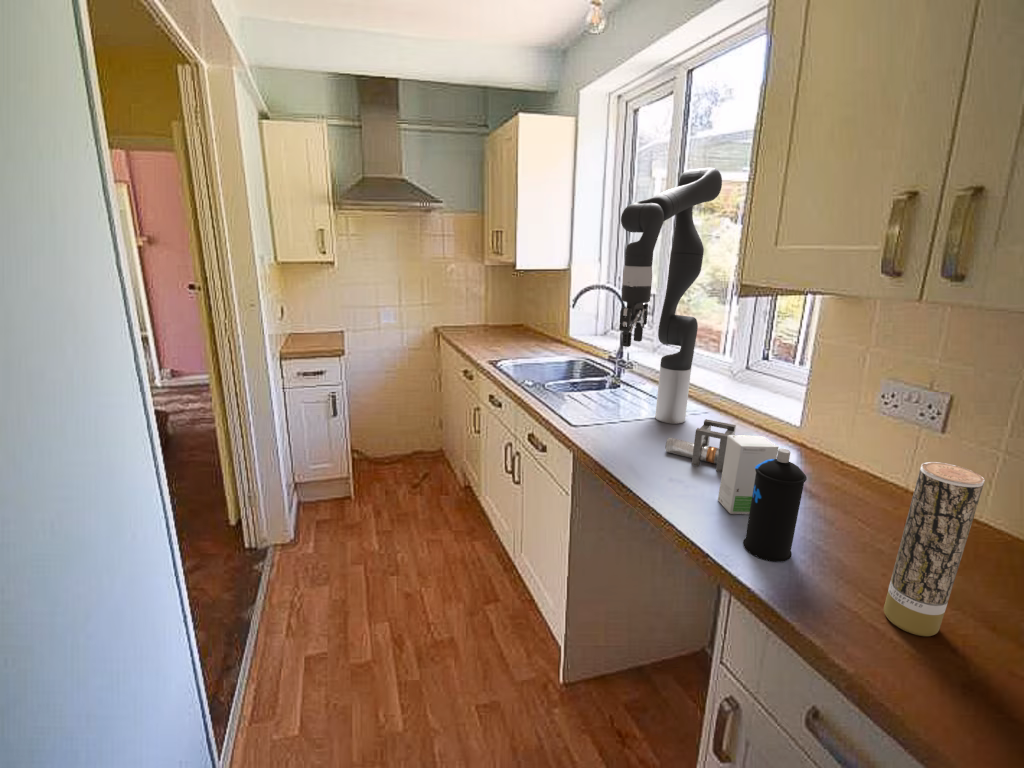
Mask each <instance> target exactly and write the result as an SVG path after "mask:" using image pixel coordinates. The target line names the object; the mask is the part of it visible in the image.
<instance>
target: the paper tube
mask: <svg viewBox="0 0 1024 768" xmlns="http://www.w3.org/2000/svg"><path fill="white" fill-rule="evenodd" d="M915 483H916V484H915V487H914V491H913V495H912V498H911V502H910V506H909V508H908V509H909V510H908V514H907V516H906V521H905V525H904V527H903V533H902V535H901V536H902V537H901V540H900V544H899V548H898V551H897V555H896V559H895V563H894V567H893V570H892V575H891V578H890V581H889V585H888V589H887V590H888V591H887V594H886V598H885V601H884V602H885V603H884V605H883V612H884V614H885V616H886V618H887V620H889V622H891V624H893V625H894V626H895V627H897V628H898V629H901V630H903V631H904V632H907V633H909V634H912V635H915V636H921V637H931V636H934V635H936V634H938V633H939V631H940V629H941V626H942V622H943V620H944V619H943V618H944V615H945V613H946V610H947V606H948V603H949V599H950V596H951V593H952V590H953V587H954V584H955V583H954V582H955V580H956V576H957V573H958V570H959V567H960V563H961V560H962V557H963V554H964V551H965V547H966V543H967V540H968V537H969V533H970V530H971V527H972V524H973V520H974V517H975V514H976V511H977V508H978V505H979V501H980V498H981V495H982V491H983V488H984V485H985V478H984V477H983V476H982V475H980V474H979V473H978V472H976V471H973V470H971V469H968V468H965V467H962V466H960V465H959V466H958V465H955V464H950V463H945V462H939V461H938V462H937V461H929V462H928V461H927V462H922V463H921V465H920V468H919V472H918V475H917V479H916V482H915Z"/></svg>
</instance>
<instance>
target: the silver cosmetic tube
mask: <svg viewBox="0 0 1024 768" xmlns="http://www.w3.org/2000/svg"><path fill="white" fill-rule="evenodd" d="M693 449H694V442H691V441H687V440H682V439H678V438H674V437H668V438H667V440H666V443H665V452H666V453H669V454H673V455H678V456H682V457H686V458H691V459H692V457H693ZM718 453H719V447H714V446H710V445H709V446H706V445H702V450H701V457H700V461H703V462H706V463H710V464H715V465H717V460H718Z"/></svg>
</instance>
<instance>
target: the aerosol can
mask: <svg viewBox="0 0 1024 768" xmlns="http://www.w3.org/2000/svg"><path fill="white" fill-rule="evenodd" d="M790 456H791V450H789V449H787V448H778V453H777V458H776V459H770V460H766V461H764V462H762V463H760V464H758V465H757V466H756V467H755V471H756V476H755V482H754V488H753V494H752V500H751V506H750V513H749V514H748V520H747V526H746V531H745V532H746V533H745V538H744V539H743V541H742V545H743V547H744V549H745V550H746V552H747V553H749V554H751V555H752V556H754V557H756V558H758V559H760V560H763V561H765V562H766V561H767V562H771V563H784V562H787V561H789V560H790V559H791V557H792V555H793V553H792V546H793V542H794V536H795V532H796V531H795V530H796V527H797V521H798V516H799V510H800V505H801V502H802V497H803V496H802V495H803V490H804V485H805V483H806V481H807V476H806V474H805V473H804V472H803V470H802V469H801V468H800V467H799V466H798V465H797V464H795V463H794V462H791V461H790V458H791V457H790Z"/></svg>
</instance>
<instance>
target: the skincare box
mask: <svg viewBox="0 0 1024 768" xmlns="http://www.w3.org/2000/svg"><path fill="white" fill-rule="evenodd" d="M778 449H779V446H778V445H777V444H775V443H774V442H772V441H771V440H770V439H768V438H767V437H765V436H763V435H762V436H761V435H749V434H743V435H739V434H738V435H728V436H727V445H726V452H725V458H724V464H723V471H722V472H721V478H720V484H719V491H718V497H717V500H718V502H719V503H720V504H721V505H722V506H723V508H724V509H725V510H726V511H727V512H728V513H729V514H730V515H749V513H750V506H751V500H752V494H753V488H754V482H755V476H756V471H755V467H756V466H757V465H758V464H760V463H762V462H764V461H766V460H770V459H777V455H778Z"/></svg>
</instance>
